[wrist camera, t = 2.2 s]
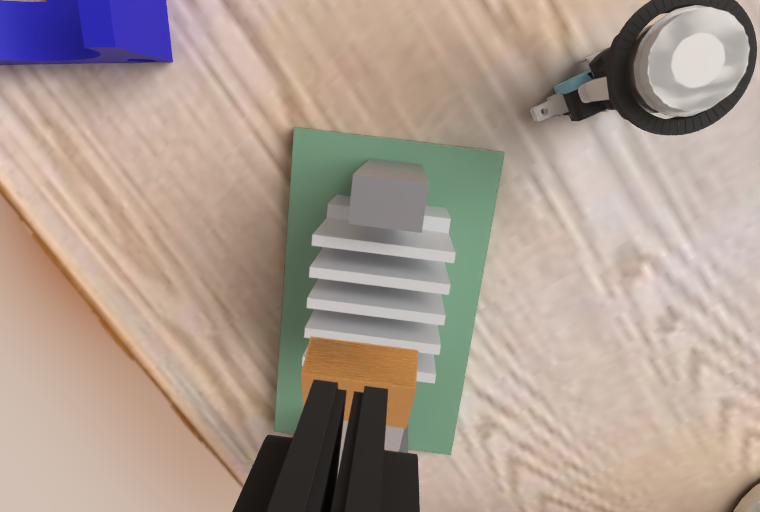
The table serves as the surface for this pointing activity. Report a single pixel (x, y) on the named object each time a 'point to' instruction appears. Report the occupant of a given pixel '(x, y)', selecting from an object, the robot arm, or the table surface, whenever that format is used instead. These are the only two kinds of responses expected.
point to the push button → (665, 68)
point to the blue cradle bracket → (84, 32)
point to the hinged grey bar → (365, 378)
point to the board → (386, 263)
